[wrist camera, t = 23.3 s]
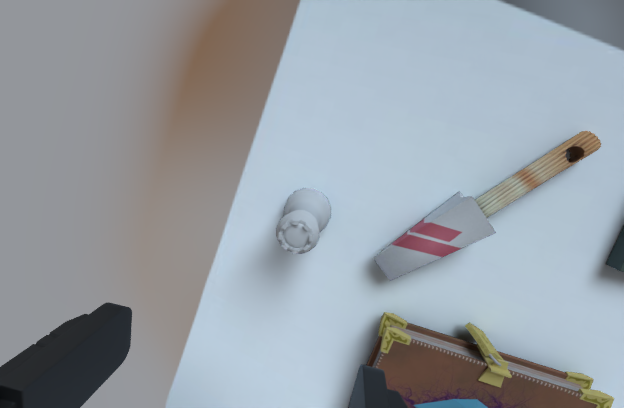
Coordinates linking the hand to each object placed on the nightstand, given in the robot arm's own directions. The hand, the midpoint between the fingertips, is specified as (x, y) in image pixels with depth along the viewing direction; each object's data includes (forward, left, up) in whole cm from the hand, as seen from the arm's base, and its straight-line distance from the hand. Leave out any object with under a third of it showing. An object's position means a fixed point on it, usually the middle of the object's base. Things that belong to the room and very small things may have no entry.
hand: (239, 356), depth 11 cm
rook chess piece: (0, 0, -20) cm, 20 cm away
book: (+16, +21, -20) cm, 33 cm away
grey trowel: (-4, +15, -20) cm, 25 cm away
